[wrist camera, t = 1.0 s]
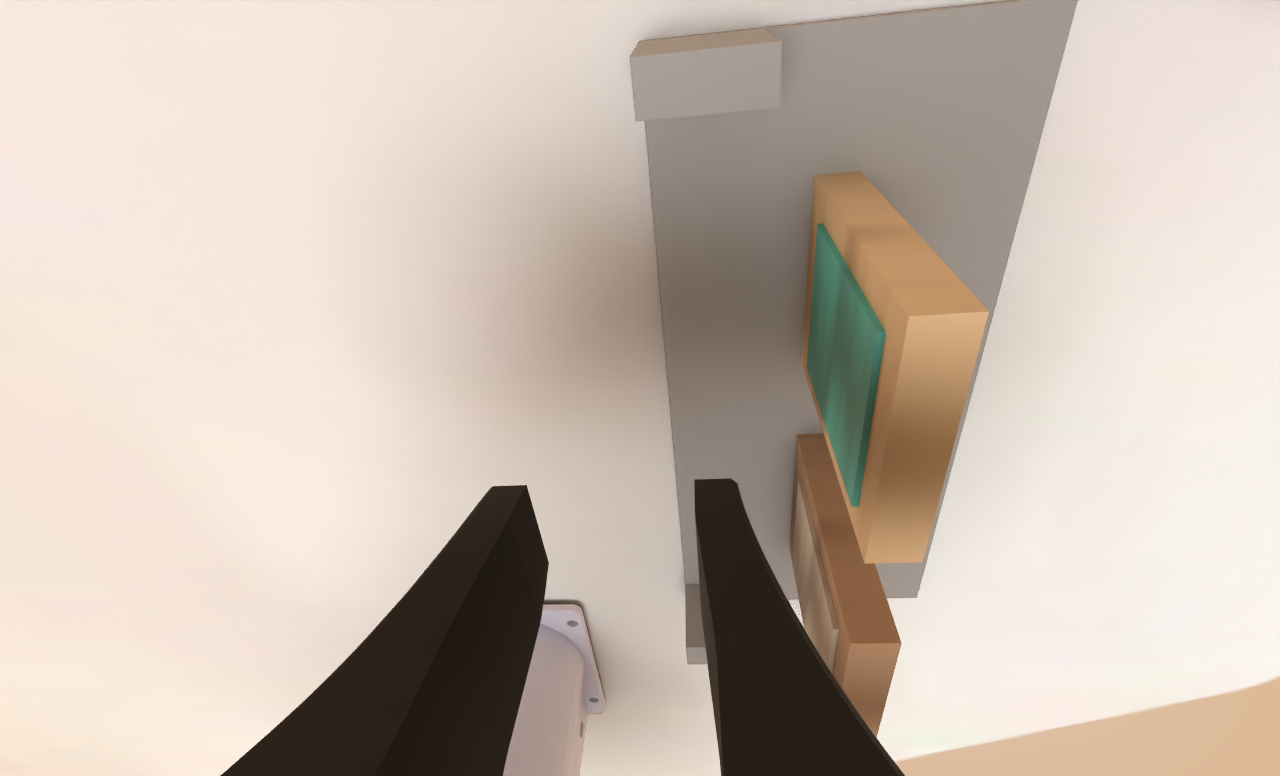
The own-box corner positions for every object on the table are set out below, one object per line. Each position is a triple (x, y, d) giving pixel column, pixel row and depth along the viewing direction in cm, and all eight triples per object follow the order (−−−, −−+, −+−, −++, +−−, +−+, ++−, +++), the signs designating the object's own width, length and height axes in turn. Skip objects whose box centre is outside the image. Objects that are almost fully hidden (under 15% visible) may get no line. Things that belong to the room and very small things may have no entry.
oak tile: (839, 361, 19) (922, 562, 13) (797, 363, 19) (857, 563, 13) (860, 171, 16) (988, 311, 9) (808, 175, 16) (899, 317, 9)
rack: (912, 588, 26) (941, 663, 23) (686, 591, 27) (687, 664, 24) (1067, -6, 14) (1169, 0, 11) (639, 41, 15) (630, 57, 12)
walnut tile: (819, 546, 24) (870, 758, 18) (785, 547, 24) (824, 757, 18) (831, 433, 21) (901, 643, 14) (792, 434, 21) (843, 643, 14)
